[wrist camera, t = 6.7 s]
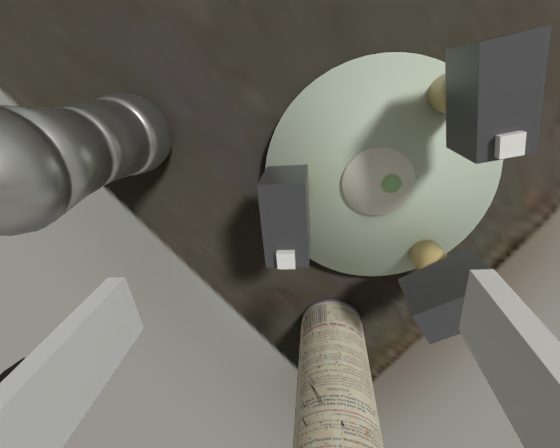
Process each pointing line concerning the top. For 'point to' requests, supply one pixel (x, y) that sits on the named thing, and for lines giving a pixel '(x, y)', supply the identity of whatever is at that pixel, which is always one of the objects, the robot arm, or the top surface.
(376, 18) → the top surface
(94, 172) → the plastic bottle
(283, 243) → the dark grey rectangular block
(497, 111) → the grey block on peg
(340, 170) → the base
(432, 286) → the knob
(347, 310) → the aerosol can
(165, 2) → the top surface
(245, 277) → the top surface
